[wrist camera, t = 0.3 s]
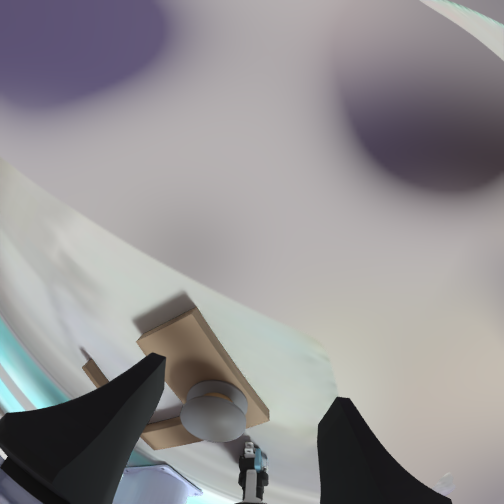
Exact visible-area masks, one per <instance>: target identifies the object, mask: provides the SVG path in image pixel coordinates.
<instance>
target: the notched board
mask: <svg viewBox="0 0 504 504" xmlns="http://www.w3.org/2000/svg"><path fill="white" fill-rule="evenodd" d="M136 343H137V344H138V345H139V347H140V348H141V350H142V351H143V353H144V354H145V355H146V356H147V355H148V354H150V353H152V352H154V353H156V354H159V355H162V356H165V357H166V367H165V382H166V383H167V384H168V386H169V387H170V388H171V389H172V390H173V392H174V393H175V394H176V395H177V396H178V398H179V399H180V400H181V401H182V402H183V404H184V405H183V407H182V410H181V413H180V416H179V417H175V418H172V419H168V420H164V421H160V422H156V423H152V424H148V425H146V427H145V429H144V430H143V432H142V434H141V436H140V437H141V438H142V439H143V440H144V441H145V442H146V443H147V444H148V445H149V446H150V447H151V448H152V449H153V450H159V449H165V448H171V447H176V446H181V445H186V444H191V443H195V442H200V441H204V440H206V441H210V442H229V441H232V440H235V439H237V438H238V437H240V436H241V435H242V434H243V433H244V431H245V429H247V428H250V427H253V426H256V425H259V424H262V423H264V422H267V421H269V409H268V408H267V407H266V406H265V404H264V403H263V402H262V400H261V399H260V398H259V396H258V395H257V394H256V392H255V391H254V390H253V388H252V387H251V386H250V384H249V383H248V382H247V380H246V379H245V378H244V376H243V375H242V373H241V372H240V371H239V369H238V368H237V366H236V365H235V364H234V362H233V361H232V359H231V358H230V357H229V355H228V354H227V352H226V351H225V349H224V348H223V346H222V345H221V343H220V342H219V340H218V339H217V337H216V336H215V335H214V333H213V331H212V330H211V328H210V327H209V325H208V324H207V322H206V321H205V319H204V318H203V316H202V315H201V313H200V311H199V310H198V308H197V307H195V308H193V309H191V310H190V311H188V312H186V313H184V314H182V315H180V316H178V317H176V318H174V319H172V320H170V321H168V322H166V323H164V324H162V325H160V326H158V327H156V328H154V329H152V330H150V331H148V332H146V333H144V334H143V335H142V336H141V337H140V338H139V339H138V340H137V341H136ZM82 369H83V370H84V371H85V373H86V374H87V376H88V377H89V378H90V380H91V381H92V382H93V384H94V385H95V386H96V387H97V389H98V388H99V387H101V386H103V385H105V384H106V383H108V382H109V381H108V380H107V379H106V377H105V376H104V375H103V373H102V372H101V371H100V369H99V368H98V367H97V365H96V364H95V362H94V361H93V359H91V360H89V361H88V362H87V363H86V364H85V365H84V366H83V367H82Z"/></svg>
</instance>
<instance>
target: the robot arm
mask: <svg viewBox="0 0 504 504" xmlns="http://www.w3.org/2000/svg"><path fill="white" fill-rule="evenodd" d="M165 367H166V357H165V356H162V355H159V354H156V353H154V352H152V353H150V354H148V355H147V356H146V357H145V358H143V359H142V360H141V361H139V362H138V363H137V364H135V365H134V366H133V367H131V368H130V369H128V370H127V371H125V372H124V373H122V374H121V375H119V376H118V377H116V378H115V379H113V380H112V381H110V382H108V383H106V384H105V385H103V386H101V387H99V388H98V389H96V390H94V391H92V392H90V393H87V394H85V395H83V396H81V397H78V398H76V399H73V400H70V401H67V402H65V403H62V404H58V405H55V406H51V407H47V408H42V409H37V410H32V411H23V412H13V413H6V414H5V415H4V416H3V417H2V418H1V419H0V448H1V449H2V450H3V451H4V452H5V454H6V455H7V456H8V457H7V458H6V460H4V459H3V458H2V457H1V456H0V504H186V502H187V498H188V496H199V495H203V492H202V491H200V490H199V489H198V488H196V487H195V486H193V485H192V484H191V483H189V482H188V481H187V480H186V479H184V478H183V477H182V476H180V475H179V474H178V473H177V472H175V471H174V470H173V469H172V468H171V467H169V466H168V465H155V466H144V467H129V468H125V467H126V464H127V462H128V459H129V457H130V454H131V452H132V450H133V448H134V446H135V444H136V443H137V441H138V439H139V437H140V436H141V434H142V432H143V430H144V429H145V427H146V425H147V423H148V422H149V420H150V418H151V416H152V415H153V413H154V411H155V409H156V407H157V405H158V403H159V400H160V398H161V395H162V393H163V390H164V382H165ZM317 448H318V459H319V470H320V482H321V497H320V504H452V501H451V499H450V498H447V497H445V496H443V495H441V494H439V493H437V492H435V491H434V490H432V489H430V488H428V487H427V486H425V485H424V484H423V483H421V482H420V481H418V480H417V479H416V478H415V477H413V476H412V475H411V474H410V473H408V472H407V471H406V470H405V469H404V468H403V467H402V466H401V465H400V464H399V463H398V462H397V461H396V460H395V459H394V458H393V457H392V456H391V455H390V454H389V453H388V452H387V451H386V449H385V448H384V447H383V445H382V444H381V443H380V441H379V440H378V439H377V438H376V436H375V435H374V433H373V432H372V431H371V429H370V428H369V426H368V425H367V423H366V422H365V421H364V419H363V418H362V416H361V415H360V413H359V411H358V410H357V408H356V407H355V406H354V404H353V403H352V401H351V400H350V398H342V397H336V399H335V400H334V402H333V403H332V405H331V407H330V408H329V409H328V411H327V412H326V414H325V415H324V417H323V418H322V420H321V421H320V423H319V424H318V436H317ZM123 473H124V475H123V477H122V474H123ZM121 477H122V479H121ZM120 479H121V481H120ZM119 482H120V483H119Z"/></svg>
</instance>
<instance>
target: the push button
mask: <svg viewBox="0 0 504 504" xmlns="http://www.w3.org/2000/svg"><path fill="white" fill-rule="evenodd" d="M248 444H251V446H248ZM245 445H246V448H245V449H244V454H243V456H240V458H239V468H240V472H241V473H240V474H239V480H238V483H239V485H240V486H241V487H242V489H243V501H242V502H239V503H236V504H267V503H263V502H261V501H262V499H263V493H264V486H267V485H268V474H267V473H266V471H268V458H267V466H263V462H262V457H261V451H260V448H259V449H256V448H254V446H253V442H245Z"/></svg>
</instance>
